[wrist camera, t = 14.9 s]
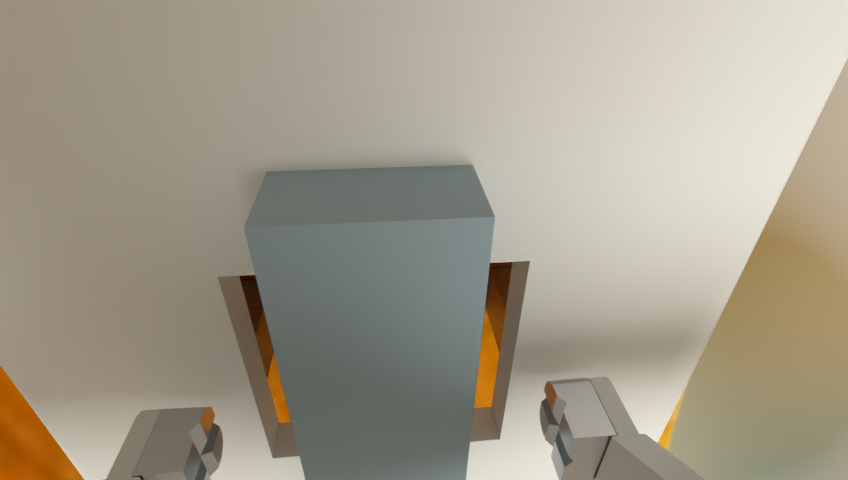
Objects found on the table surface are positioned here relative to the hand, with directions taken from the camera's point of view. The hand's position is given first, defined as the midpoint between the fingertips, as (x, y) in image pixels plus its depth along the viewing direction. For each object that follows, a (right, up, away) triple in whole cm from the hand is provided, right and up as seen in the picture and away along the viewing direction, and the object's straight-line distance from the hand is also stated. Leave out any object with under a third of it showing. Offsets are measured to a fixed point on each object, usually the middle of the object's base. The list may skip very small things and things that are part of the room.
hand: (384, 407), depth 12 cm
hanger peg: (-1, +5, +8) cm, 9 cm away
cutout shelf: (-1, +7, +11) cm, 13 cm away
